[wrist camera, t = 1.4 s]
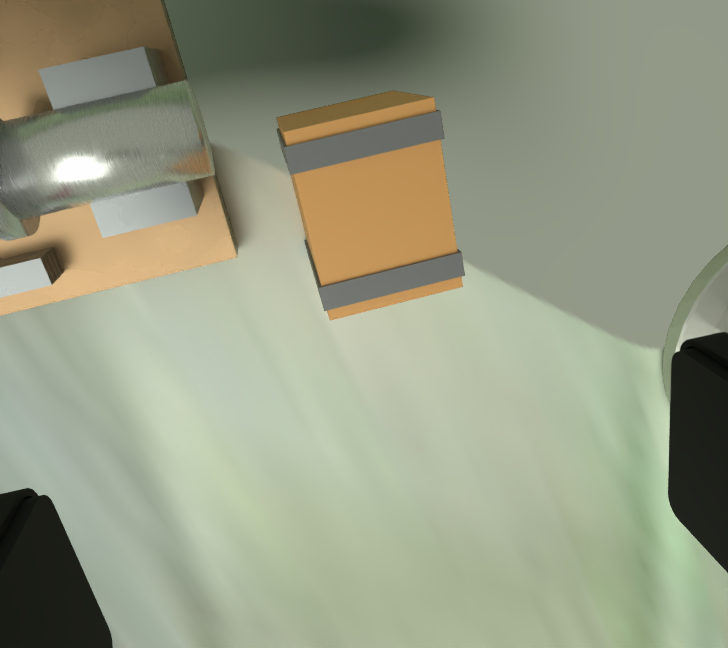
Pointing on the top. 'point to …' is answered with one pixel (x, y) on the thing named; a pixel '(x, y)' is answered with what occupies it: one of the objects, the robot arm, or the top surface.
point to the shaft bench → (99, 153)
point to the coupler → (373, 200)
